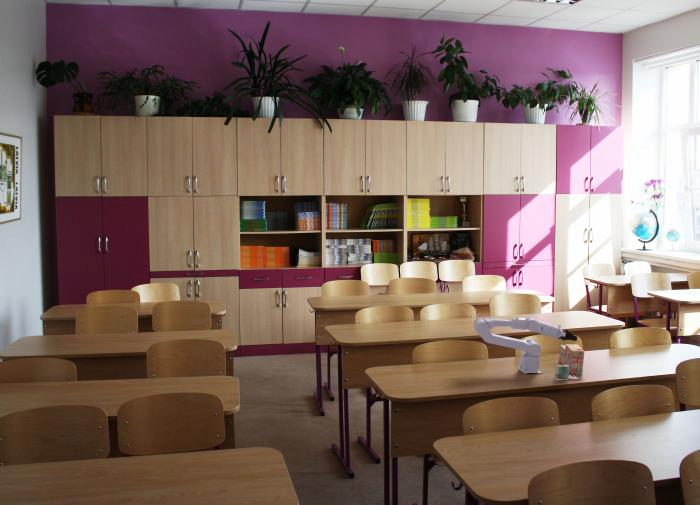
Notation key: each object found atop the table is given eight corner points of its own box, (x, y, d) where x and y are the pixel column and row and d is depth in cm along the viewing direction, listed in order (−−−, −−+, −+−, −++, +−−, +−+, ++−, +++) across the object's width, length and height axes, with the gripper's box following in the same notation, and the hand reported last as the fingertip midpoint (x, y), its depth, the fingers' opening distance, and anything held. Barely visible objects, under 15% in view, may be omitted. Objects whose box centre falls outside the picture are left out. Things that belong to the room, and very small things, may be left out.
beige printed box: (558, 361, 377) (560, 339, 376) (570, 361, 377) (572, 339, 376) (570, 373, 356) (572, 350, 354) (582, 374, 356) (584, 350, 354)
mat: (569, 379, 346) (569, 379, 346) (562, 375, 353) (562, 374, 353) (580, 379, 347) (580, 378, 347) (573, 374, 354) (573, 374, 354)
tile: (556, 380, 345) (557, 366, 344) (554, 378, 347) (555, 365, 346) (568, 380, 346) (569, 366, 345) (565, 378, 348) (566, 364, 347)
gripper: (555, 323, 347) (581, 331, 348) (546, 321, 362) (571, 330, 362) (551, 336, 347) (577, 345, 347) (542, 335, 361) (567, 343, 362)
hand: (574, 338), depth 354 cm, fingers open, 7 cm apart
